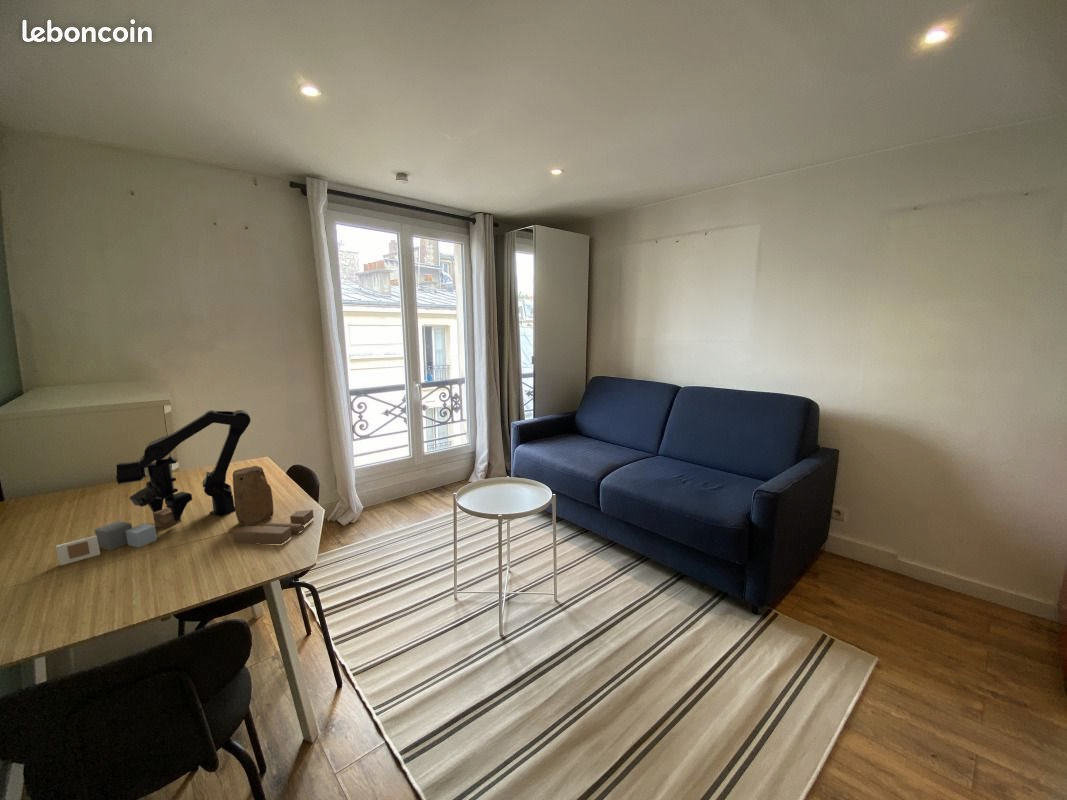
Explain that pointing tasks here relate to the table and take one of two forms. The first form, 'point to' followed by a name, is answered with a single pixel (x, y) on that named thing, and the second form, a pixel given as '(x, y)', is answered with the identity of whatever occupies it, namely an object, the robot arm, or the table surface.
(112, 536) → the base block
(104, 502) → the table surface
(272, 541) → the wooden block set
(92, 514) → the table surface
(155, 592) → the table surface
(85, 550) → the placard
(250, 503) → the block
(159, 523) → the walnut cube
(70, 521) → the table surface
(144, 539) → the slate cube
